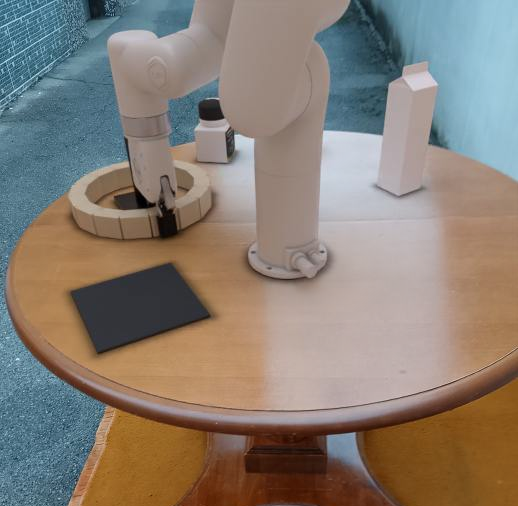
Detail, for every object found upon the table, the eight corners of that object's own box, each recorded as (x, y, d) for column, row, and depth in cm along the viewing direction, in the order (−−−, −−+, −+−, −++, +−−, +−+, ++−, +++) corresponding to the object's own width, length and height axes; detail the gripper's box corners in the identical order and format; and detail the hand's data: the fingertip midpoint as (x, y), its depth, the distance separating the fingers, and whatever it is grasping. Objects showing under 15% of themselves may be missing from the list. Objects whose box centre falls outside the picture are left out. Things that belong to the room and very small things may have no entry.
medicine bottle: (228, 163, 117) (223, 106, 109) (196, 162, 118) (190, 105, 111) (235, 151, 122) (232, 95, 115) (205, 150, 124) (200, 95, 116)
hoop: (234, 215, 98) (232, 195, 96) (93, 253, 90) (88, 231, 87) (182, 168, 116) (180, 149, 113) (61, 195, 107) (56, 176, 105)
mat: (210, 316, 75) (210, 314, 75) (98, 354, 70) (97, 351, 69) (170, 264, 86) (170, 262, 86) (71, 293, 81) (70, 291, 80)
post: (174, 208, 101) (163, 138, 93) (128, 220, 98) (113, 148, 90) (158, 191, 107) (147, 123, 99) (114, 201, 104) (99, 132, 96)
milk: (420, 188, 104) (443, 64, 90) (397, 196, 102) (417, 70, 88) (398, 178, 108) (416, 57, 94) (375, 185, 106) (391, 63, 91)
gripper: (108, 113, 87) (129, 215, 99) (140, 144, 76) (159, 256, 88) (152, 105, 90) (167, 206, 102) (189, 134, 78) (202, 244, 90)
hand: (164, 228), depth 95 cm, fingers open, 4 cm apart
